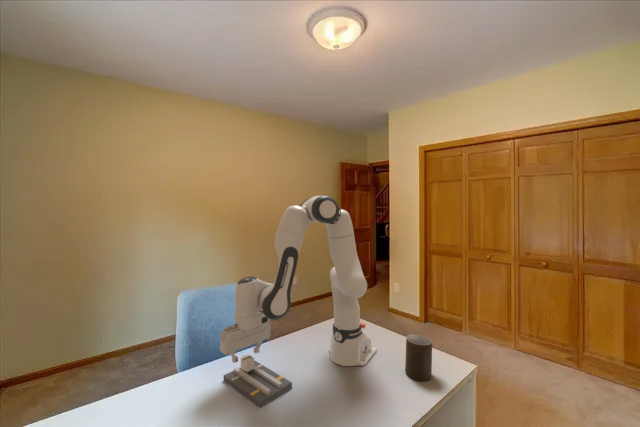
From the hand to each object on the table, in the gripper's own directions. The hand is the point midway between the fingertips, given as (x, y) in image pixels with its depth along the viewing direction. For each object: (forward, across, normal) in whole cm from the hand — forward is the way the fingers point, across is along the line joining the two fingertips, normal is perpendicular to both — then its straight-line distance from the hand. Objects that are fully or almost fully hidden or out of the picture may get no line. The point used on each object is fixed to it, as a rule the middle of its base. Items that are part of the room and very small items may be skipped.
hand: (246, 357), depth 110 cm
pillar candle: (+7, +47, -47) cm, 67 cm away
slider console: (+8, +1, -6) cm, 10 cm away
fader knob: (+6, 0, 0) cm, 6 cm away
